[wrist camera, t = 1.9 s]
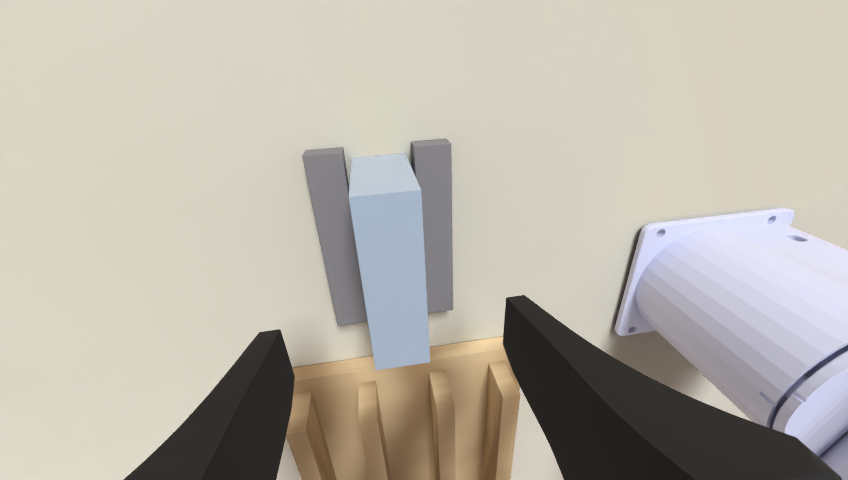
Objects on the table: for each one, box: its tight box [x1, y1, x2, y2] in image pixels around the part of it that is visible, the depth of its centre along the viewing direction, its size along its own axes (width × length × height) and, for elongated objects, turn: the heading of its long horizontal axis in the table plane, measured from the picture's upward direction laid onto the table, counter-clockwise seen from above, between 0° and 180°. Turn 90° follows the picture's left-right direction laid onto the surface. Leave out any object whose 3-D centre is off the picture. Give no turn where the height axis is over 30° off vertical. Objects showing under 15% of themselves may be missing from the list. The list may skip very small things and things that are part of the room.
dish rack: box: [286, 336, 520, 480], centre depth 25 cm, size 15×18×4 cm
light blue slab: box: [349, 153, 430, 370], centre depth 16 cm, size 2×8×5 cm, turn 3°
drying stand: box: [302, 139, 453, 326], centre depth 18 cm, size 6×9×1 cm
